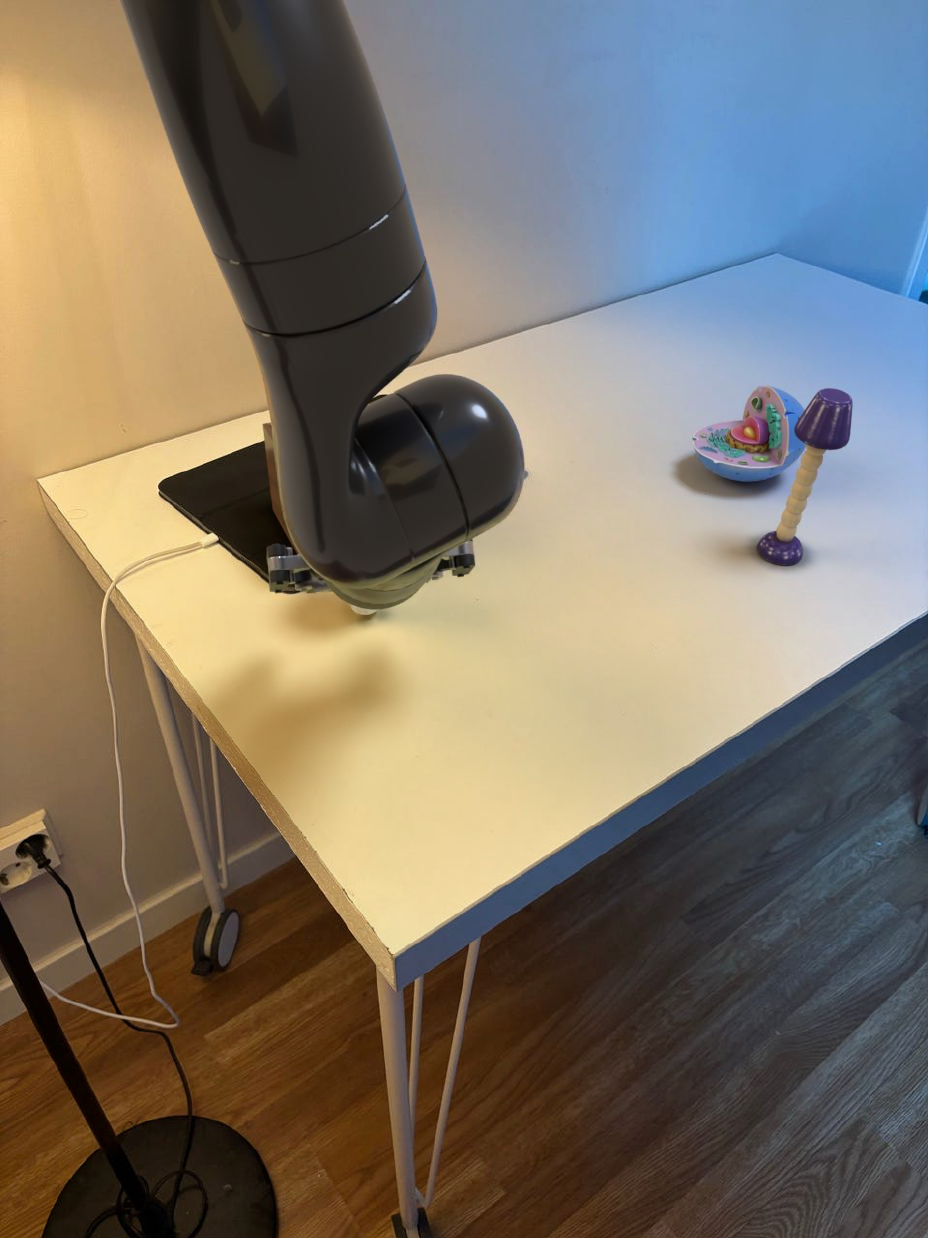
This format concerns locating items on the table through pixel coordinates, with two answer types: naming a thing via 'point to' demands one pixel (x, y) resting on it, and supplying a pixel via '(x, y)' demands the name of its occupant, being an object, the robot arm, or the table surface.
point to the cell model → (753, 438)
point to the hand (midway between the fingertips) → (365, 574)
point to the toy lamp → (809, 468)
